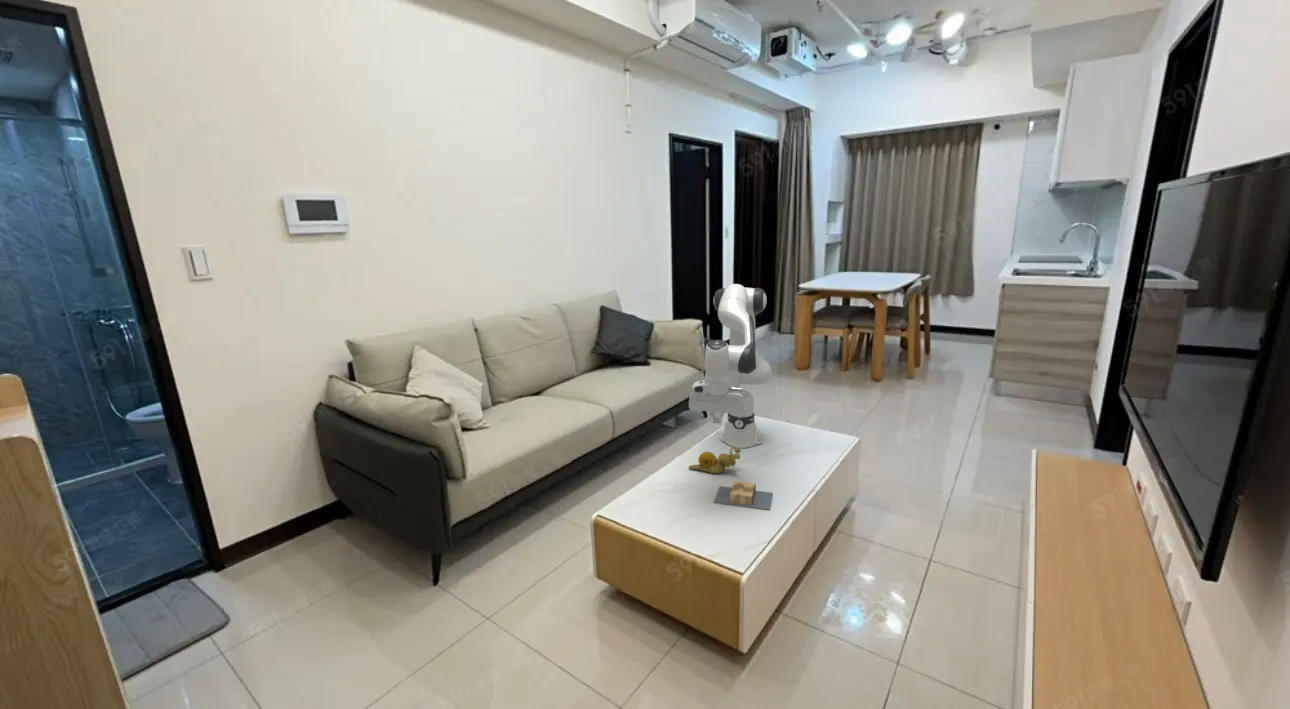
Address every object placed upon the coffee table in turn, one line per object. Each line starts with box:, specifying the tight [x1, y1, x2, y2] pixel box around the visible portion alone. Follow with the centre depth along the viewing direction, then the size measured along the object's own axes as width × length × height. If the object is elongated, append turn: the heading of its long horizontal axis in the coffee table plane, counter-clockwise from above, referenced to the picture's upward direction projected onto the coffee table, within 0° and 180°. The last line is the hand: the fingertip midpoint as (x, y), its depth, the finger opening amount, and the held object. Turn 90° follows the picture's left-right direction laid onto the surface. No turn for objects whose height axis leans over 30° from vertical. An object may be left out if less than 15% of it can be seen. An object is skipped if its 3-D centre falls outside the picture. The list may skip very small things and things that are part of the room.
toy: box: [688, 446, 742, 475], centre depth 215 cm, size 8×21×10 cm, turn 77°
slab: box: [730, 480, 757, 505], centre depth 195 cm, size 10×4×8 cm
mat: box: [713, 485, 774, 511], centre depth 195 cm, size 12×20×1 cm, turn 72°
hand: (717, 422), depth 191 cm, fingers closed
